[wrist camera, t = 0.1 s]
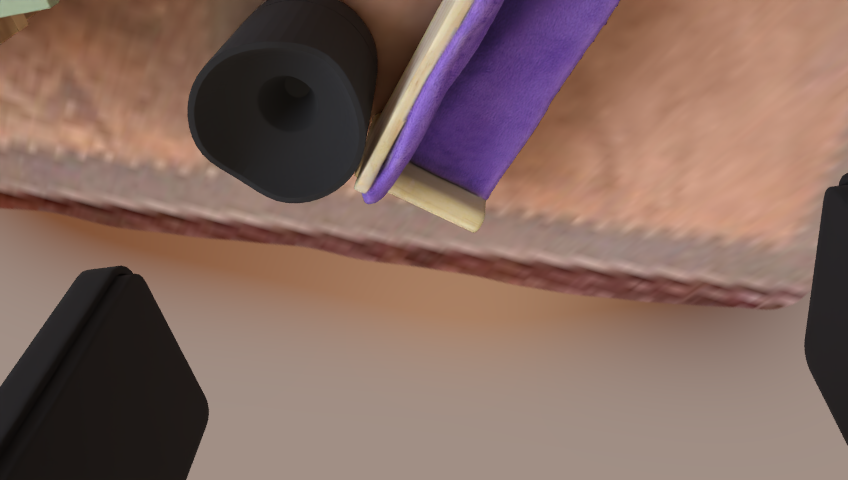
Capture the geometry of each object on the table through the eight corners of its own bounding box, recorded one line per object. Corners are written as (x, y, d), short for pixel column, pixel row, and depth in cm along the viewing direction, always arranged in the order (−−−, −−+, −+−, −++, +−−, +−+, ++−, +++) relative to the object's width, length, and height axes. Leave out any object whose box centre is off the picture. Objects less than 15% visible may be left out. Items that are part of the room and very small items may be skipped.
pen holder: (265, 133, 51) (225, 214, 43) (215, -3, 45) (158, 60, 37) (399, 110, 49) (384, 190, 41) (363, -33, 44) (338, 26, 36)
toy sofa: (476, 183, 52) (476, 273, 44) (364, 129, 50) (341, 213, 42) (665, -104, 41) (713, -55, 32) (529, -188, 39) (543, -159, 30)
